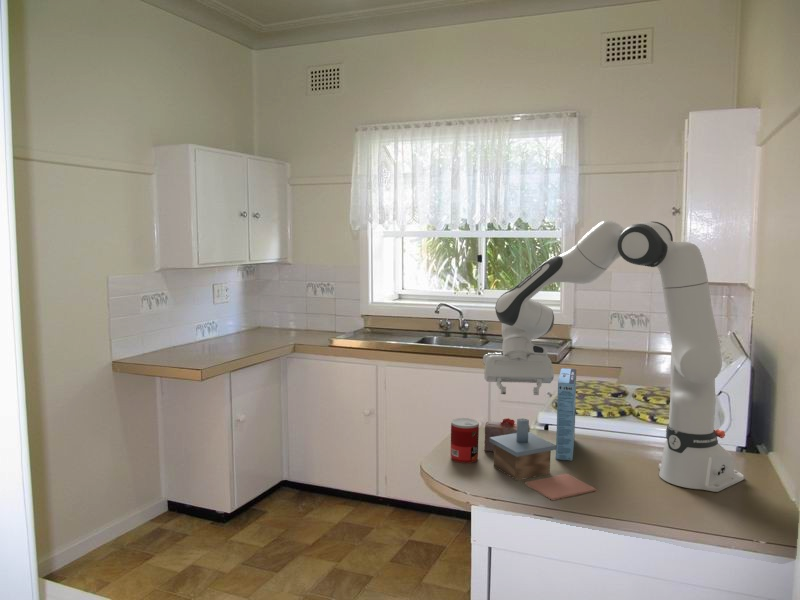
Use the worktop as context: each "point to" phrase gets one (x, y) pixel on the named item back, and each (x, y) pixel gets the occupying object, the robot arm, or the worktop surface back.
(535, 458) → the crate
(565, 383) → the blue box
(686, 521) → the worktop surface
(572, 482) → the mat
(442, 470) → the worktop surface
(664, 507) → the worktop surface
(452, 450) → the canned food
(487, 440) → the food item
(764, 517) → the worktop surface
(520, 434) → the lid
